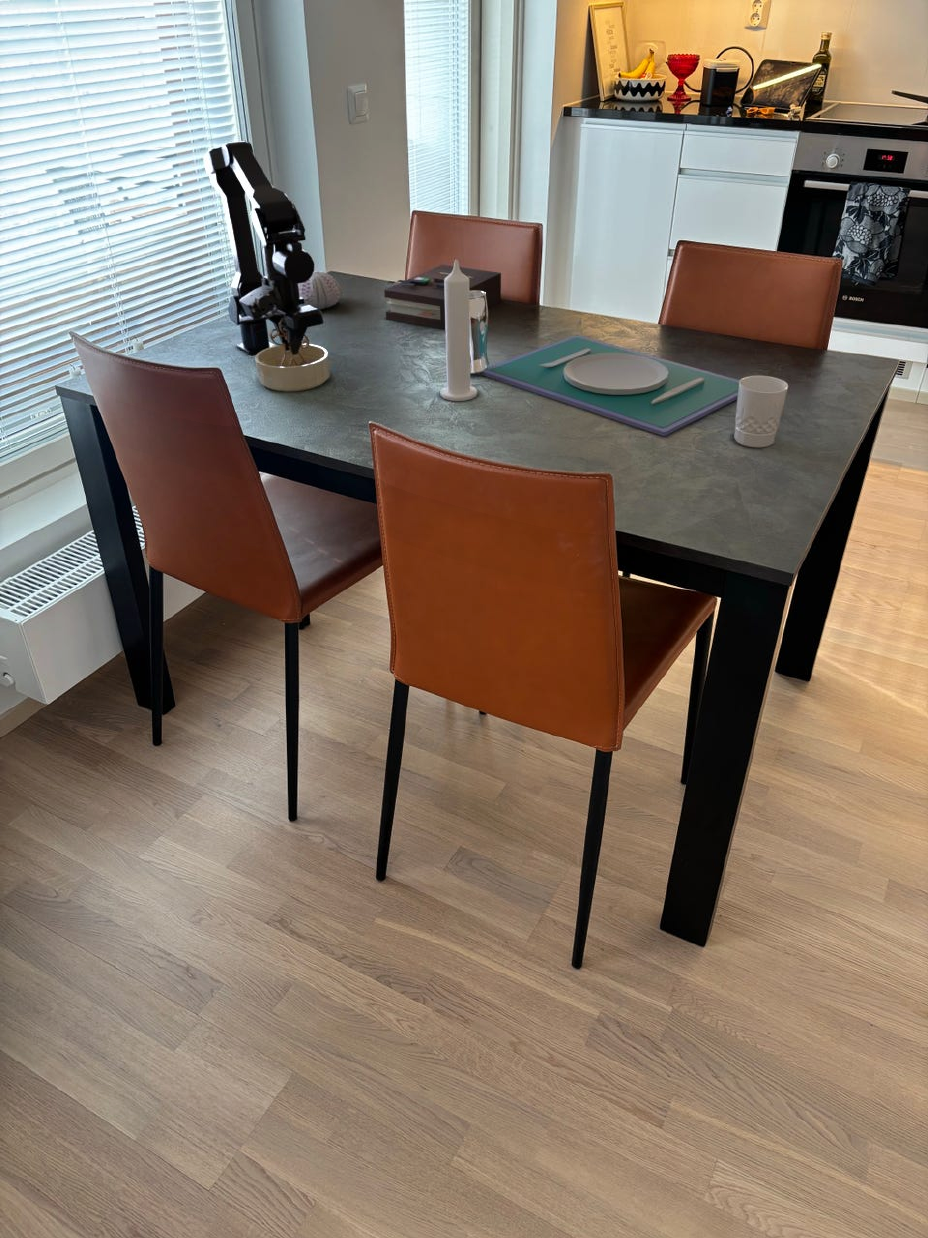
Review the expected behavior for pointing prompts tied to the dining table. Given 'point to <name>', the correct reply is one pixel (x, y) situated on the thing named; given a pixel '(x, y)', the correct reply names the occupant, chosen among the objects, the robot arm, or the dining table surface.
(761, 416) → the white cup
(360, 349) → the dining table surface
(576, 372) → the place mat
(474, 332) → the beer glass
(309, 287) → the sea urchin shell
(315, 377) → the bowl
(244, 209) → the robot arm
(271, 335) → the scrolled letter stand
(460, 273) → the candle
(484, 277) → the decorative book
